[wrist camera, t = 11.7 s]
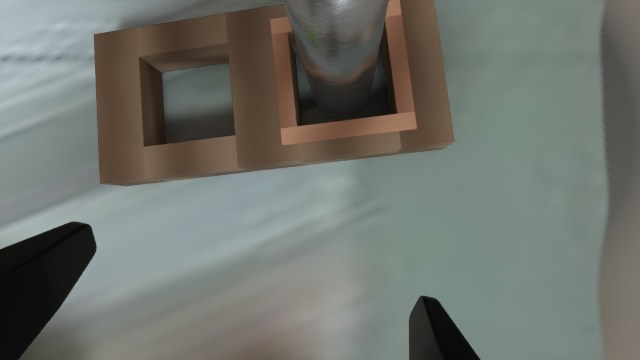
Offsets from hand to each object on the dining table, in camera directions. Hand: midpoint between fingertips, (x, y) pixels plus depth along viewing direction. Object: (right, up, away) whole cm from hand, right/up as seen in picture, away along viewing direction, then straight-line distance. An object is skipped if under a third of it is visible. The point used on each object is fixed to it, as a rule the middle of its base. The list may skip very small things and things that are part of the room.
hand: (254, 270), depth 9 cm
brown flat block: (-2, +8, +14) cm, 16 cm away
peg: (+3, +9, +13) cm, 16 cm away
